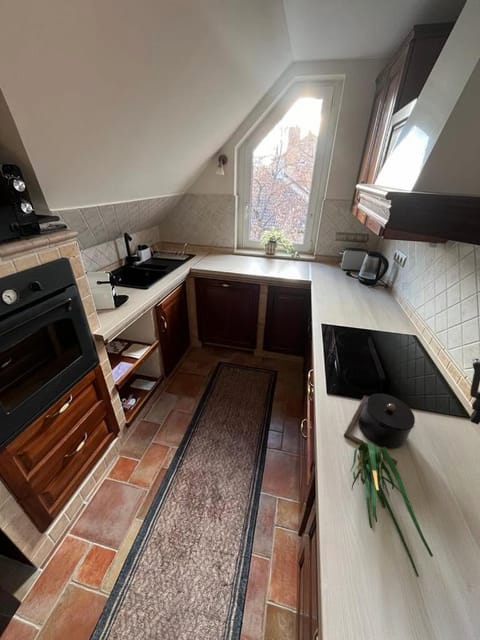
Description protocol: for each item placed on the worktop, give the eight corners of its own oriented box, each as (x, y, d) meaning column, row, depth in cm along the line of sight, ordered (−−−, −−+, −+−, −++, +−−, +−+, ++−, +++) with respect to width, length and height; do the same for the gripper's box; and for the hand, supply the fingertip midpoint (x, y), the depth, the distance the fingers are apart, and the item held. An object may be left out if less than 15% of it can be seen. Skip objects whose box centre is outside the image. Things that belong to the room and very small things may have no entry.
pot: (409, 426, 86) (423, 401, 80) (397, 460, 75) (412, 435, 69) (367, 404, 94) (376, 380, 88) (350, 432, 83) (360, 407, 77)
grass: (335, 465, 79) (330, 545, 56) (350, 426, 75) (352, 496, 52) (398, 494, 73) (422, 596, 50) (419, 454, 69) (455, 546, 46)
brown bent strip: (408, 419, 88) (410, 416, 88) (395, 466, 74) (396, 464, 73) (363, 397, 97) (364, 395, 96) (343, 435, 82) (344, 433, 81)
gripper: (488, 343, 56) (443, 415, 67) (576, 369, 48) (509, 444, 60) (487, 329, 61) (445, 398, 72) (567, 350, 54) (506, 424, 65)
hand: (474, 419), depth 66 cm, fingers closed
